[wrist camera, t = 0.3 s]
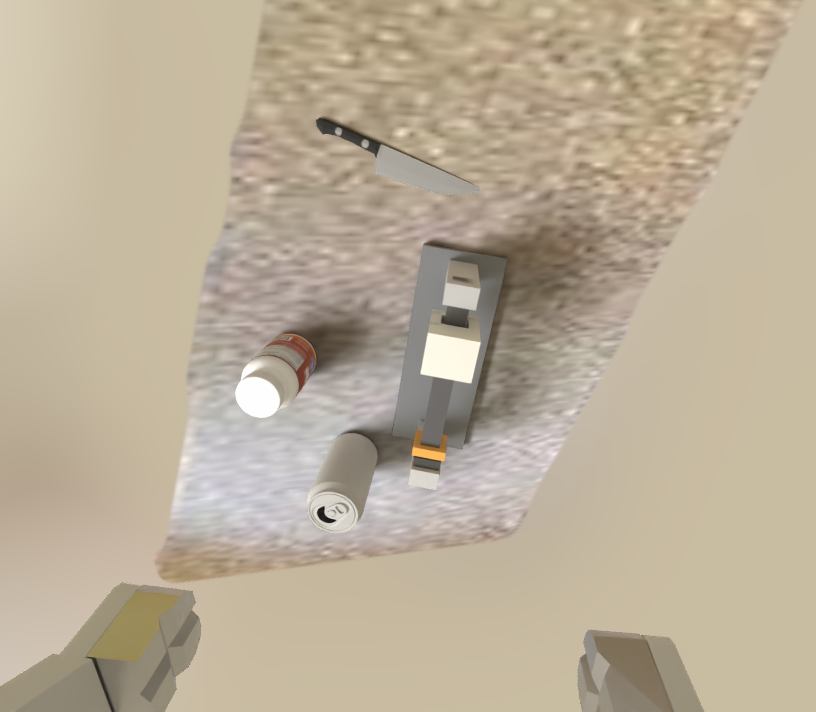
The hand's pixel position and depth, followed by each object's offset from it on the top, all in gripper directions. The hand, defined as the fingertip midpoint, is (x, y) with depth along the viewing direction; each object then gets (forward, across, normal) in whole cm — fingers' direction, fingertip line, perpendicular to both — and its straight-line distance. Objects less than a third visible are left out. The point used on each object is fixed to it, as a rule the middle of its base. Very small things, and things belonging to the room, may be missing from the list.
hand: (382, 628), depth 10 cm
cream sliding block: (+39, -1, +7) cm, 39 cm away
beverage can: (+45, +11, +27) cm, 54 cm away
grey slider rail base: (+45, 0, +12) cm, 47 cm away
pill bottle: (+45, +18, +14) cm, 51 cm away
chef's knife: (+46, +5, -7) cm, 47 cm away
